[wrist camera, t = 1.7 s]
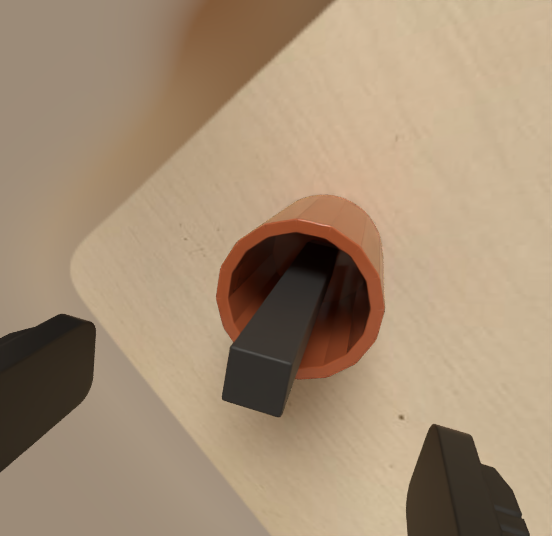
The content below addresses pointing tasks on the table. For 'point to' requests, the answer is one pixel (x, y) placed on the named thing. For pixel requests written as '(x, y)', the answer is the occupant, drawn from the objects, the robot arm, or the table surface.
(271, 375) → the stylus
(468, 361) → the table surface
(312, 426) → the table surface
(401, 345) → the table surface
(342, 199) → the pen cup
